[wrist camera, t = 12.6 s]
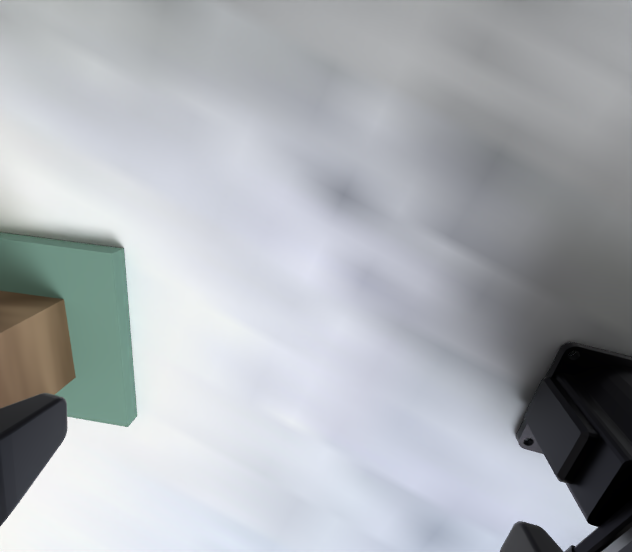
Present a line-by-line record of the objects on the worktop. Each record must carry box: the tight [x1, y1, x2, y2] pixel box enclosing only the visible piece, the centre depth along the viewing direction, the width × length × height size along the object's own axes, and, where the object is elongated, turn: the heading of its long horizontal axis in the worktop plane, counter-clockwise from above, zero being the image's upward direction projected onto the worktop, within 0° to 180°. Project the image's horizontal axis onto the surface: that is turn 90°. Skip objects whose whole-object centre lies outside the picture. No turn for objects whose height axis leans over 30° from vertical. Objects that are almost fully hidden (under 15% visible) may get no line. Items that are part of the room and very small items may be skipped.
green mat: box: [0, 232, 137, 427], centre depth 23 cm, size 11×11×1 cm
